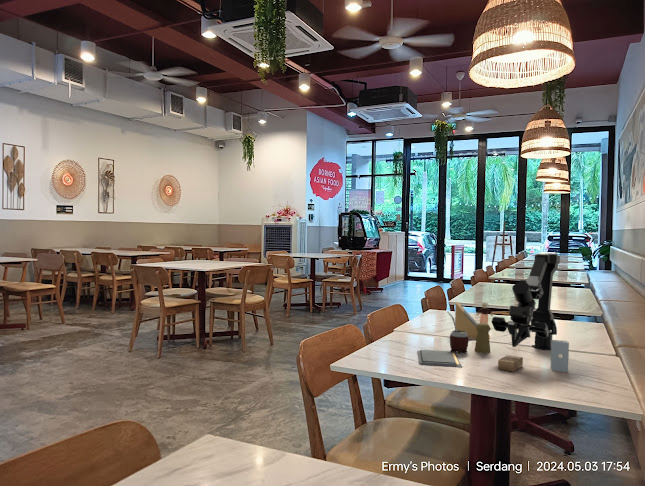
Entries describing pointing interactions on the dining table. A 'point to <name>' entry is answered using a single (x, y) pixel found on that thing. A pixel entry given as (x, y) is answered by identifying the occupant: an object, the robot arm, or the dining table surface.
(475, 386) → the dining table surface
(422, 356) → the grey notebook
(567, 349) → the grey rectangular block
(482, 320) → the grandmother figurine
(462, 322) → the sandwich container
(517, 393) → the dining table surface
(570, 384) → the dining table surface
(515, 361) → the brown rectangular box
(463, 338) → the mate gourd
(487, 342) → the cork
